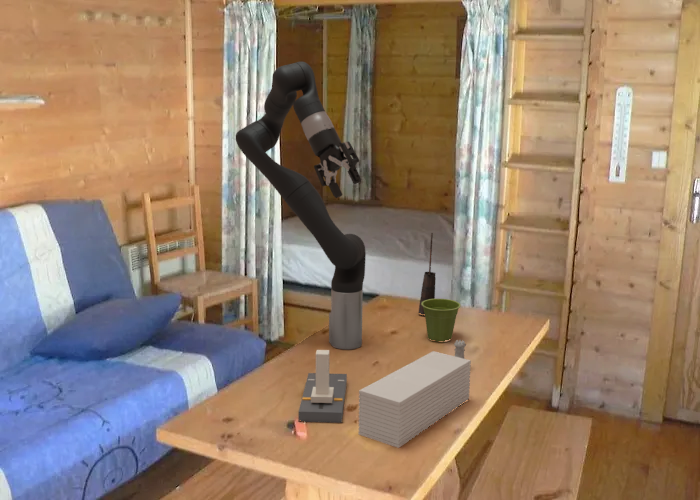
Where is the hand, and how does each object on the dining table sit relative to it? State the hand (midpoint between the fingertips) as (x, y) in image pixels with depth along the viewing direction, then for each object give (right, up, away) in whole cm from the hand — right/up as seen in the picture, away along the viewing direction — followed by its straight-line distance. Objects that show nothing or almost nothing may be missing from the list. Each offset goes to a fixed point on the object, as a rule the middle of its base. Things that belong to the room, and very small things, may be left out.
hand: (348, 189), depth 195 cm
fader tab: (-6, -51, -11) cm, 52 cm away
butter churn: (+26, -37, +65) cm, 79 cm away
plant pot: (+28, -43, +41) cm, 66 cm away
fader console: (-6, -52, -5) cm, 53 cm away
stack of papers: (+16, -55, -13) cm, 59 cm away
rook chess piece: (+30, -48, +17) cm, 59 cm away
